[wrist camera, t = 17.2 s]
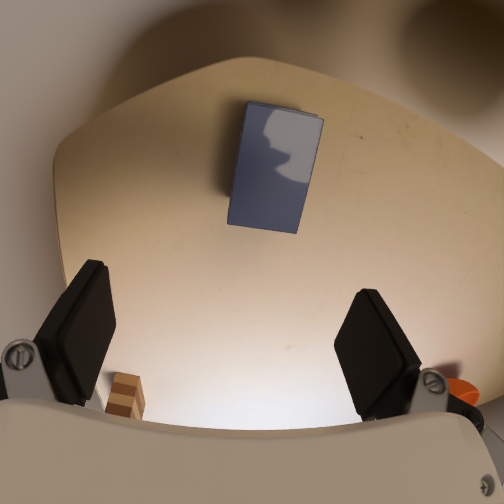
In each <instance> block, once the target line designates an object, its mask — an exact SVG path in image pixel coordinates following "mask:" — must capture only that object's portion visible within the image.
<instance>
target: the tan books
mask: <svg viewBox="0 0 504 504" xmlns="http://www.w3.org/2000/svg"><path fill="white" fill-rule="evenodd" d="M144 408H145V400H144V396H143V391H142V386H141V382H140V377H139V376H133V375H128V374H123V373H119V372H116V374H115V377H114V380H113V385H112V388H111V392H110V395H109V398H108V402H107V406H106V409H105V413H107V414H111V415H116V416H121V417H127V418H132V419H137V420H142V416H143V412H144Z"/></svg>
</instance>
